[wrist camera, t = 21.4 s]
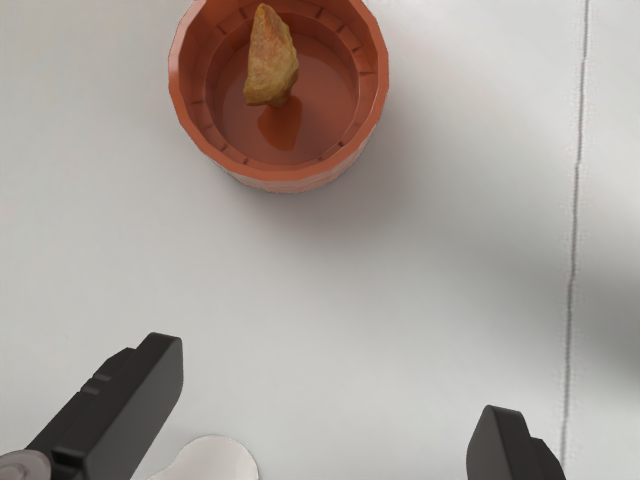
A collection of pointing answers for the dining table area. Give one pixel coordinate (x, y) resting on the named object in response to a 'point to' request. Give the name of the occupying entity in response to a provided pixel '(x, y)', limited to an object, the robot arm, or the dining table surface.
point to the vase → (211, 461)
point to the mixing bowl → (303, 103)
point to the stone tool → (270, 61)
